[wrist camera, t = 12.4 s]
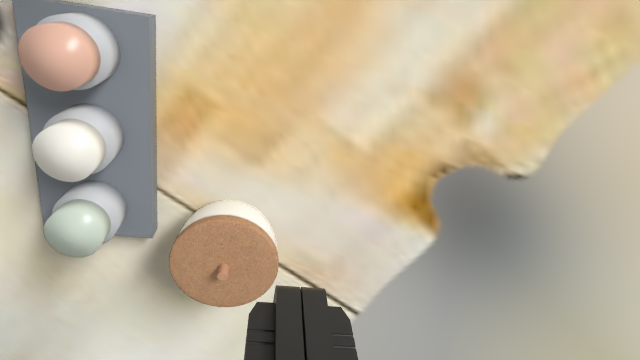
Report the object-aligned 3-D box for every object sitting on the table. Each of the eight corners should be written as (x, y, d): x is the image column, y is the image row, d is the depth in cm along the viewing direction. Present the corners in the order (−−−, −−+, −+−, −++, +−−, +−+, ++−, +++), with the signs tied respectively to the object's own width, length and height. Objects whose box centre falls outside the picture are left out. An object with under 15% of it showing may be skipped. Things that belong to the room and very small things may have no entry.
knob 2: (53, 196, 39) (40, 209, 37) (109, 201, 40) (99, 214, 38) (59, 240, 41) (47, 255, 39) (112, 245, 42) (103, 259, 40)
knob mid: (43, 115, 36) (28, 123, 34) (104, 122, 36) (93, 130, 34) (50, 167, 38) (36, 178, 36) (107, 173, 39) (97, 184, 36)
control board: (24, -6, 36) (-12, -4, 32) (155, 15, 38) (138, 19, 33) (53, 219, 46) (29, 245, 41) (157, 228, 47) (144, 254, 43)
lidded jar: (285, 190, 47) (285, 235, 38) (272, 267, 51) (270, 323, 43) (187, 178, 45) (165, 223, 37) (182, 258, 49) (162, 315, 41)
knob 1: (31, 16, 32) (13, 19, 30) (98, 26, 33) (86, 29, 31) (39, 80, 35) (23, 86, 32) (102, 88, 35) (91, 95, 33)
